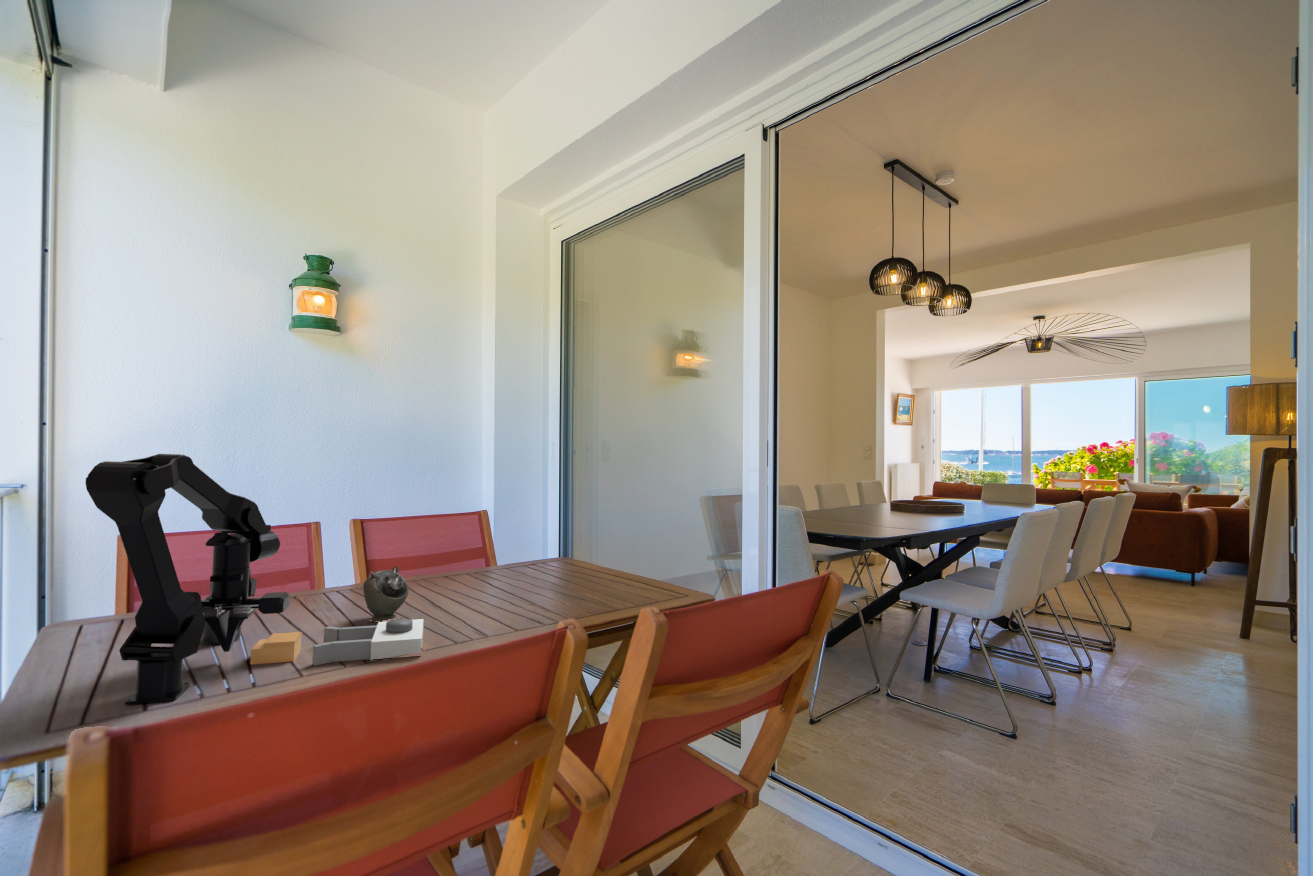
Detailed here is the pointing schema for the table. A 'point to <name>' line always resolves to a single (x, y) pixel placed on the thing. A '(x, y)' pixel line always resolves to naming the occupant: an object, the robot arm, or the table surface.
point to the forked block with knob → (369, 641)
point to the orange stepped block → (277, 648)
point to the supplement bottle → (208, 633)
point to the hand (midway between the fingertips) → (227, 651)
